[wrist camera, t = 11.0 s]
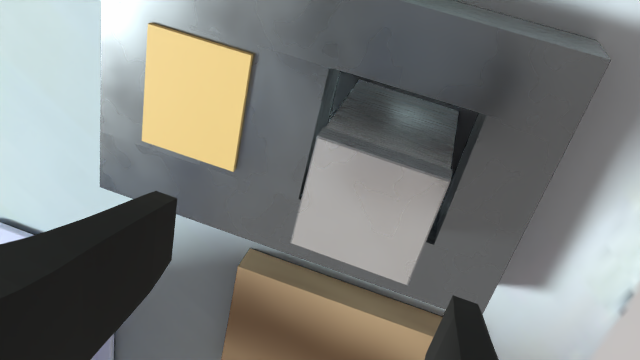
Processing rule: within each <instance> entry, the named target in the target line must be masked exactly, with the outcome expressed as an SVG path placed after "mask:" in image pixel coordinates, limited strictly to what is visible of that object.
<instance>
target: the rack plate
mask: <svg viewBox="0 0 640 360" xmlns="http://www.w3.org/2000/svg"><path fill="white" fill-rule="evenodd" d="M610 61H611V59H610V58H609V56H608V55H607V54H606V52H605V51H604V50H603V48H602V47H601V45H600V44H599V43H598V41H597V40H594V39H590V38H586V37H583V36H579V35H576V34H572V33H569V32H565V31H561V30H558V29H554V28H551V27H547V26H543V25H540V24H536V23H533V22H529V21H526V20H522V19H518V18H515V17H511V16H508V15H504V14H501V13H497V12H493V11H490V10H486V9H483V8H479V7H475V6H472V5H468V4H465V3H461V2H458V1H454V0H102V2H101V115H100V187H101V188H104V189H107V190H110V191H113V192H115V193H118V194H121V195H124V196H127V197H130V198H132V199H135V198H138V197H140V196H143V195H145V194H148V193H151V192H154V191H158V192H161V193H164V194H167V195H170V196H172V197H175V198H177V208H176V214H178V215H180V216H183V217H186V218H189V219H192V220H195V221H197V222H200V223H203V224H206V225H209V226H212V227H214V228H217V229H220V230H223V231H226V232H228V233H231V234H234V235H237V236H240V237H243V238H245V239H248V240H251V241H254V242H257V243H260V244H262V245H265V246H268V247H271V248H274V249H276V250H279V251H282V252H285V253H288V254H291V255H293V256H296V257H299V258H302V259H305V260H308V261H310V262H313V263H316V264H319V265H322V266H325V267H327V268H330V269H333V270H336V271H339V272H341V273H344V274H347V275H350V276H353V277H356V278H358V279H361V280H364V281H367V282H370V283H373V284H375V285H378V286H381V287H384V288H387V289H389V290H392V291H395V292H398V293H401V294H404V295H406V296H409V297H412V298H415V299H418V300H421V301H423V302H426V303H429V304H432V305H435V306H438V307H440V308H443V309H447V307H448V305H449V302H450V300H451V298H452V296H453V295H454V296H456V297H459V298H462V299H465V300H468V301H471V302H473V303H476V304H478V305H479V307H480V309H481V312H482V314H483V312H484V310H485V308H486V306H487V304H488V302H489V300H490V298H491V296H492V294H493V292H494V291H495V289H496V287H497V285H498V283H499V281H500V279H501V277H502V275H503V273H504V271H505V269H506V267H507V265H508V263H509V261H510V259H511V257H512V255H513V253H514V251H515V249H516V247H517V245H518V243H519V241H520V239H521V237H522V235H523V233H524V231H525V229H526V227H527V225H528V223H529V221H530V219H531V217H532V215H533V213H534V211H535V209H536V207H537V205H538V203H539V201H540V199H541V197H542V195H543V193H544V191H545V189H546V188H547V186H548V184H549V182H550V180H551V178H552V176H553V174H554V172H555V170H556V168H557V166H558V164H559V162H560V160H561V158H562V156H563V154H564V152H565V150H566V148H567V146H568V144H569V142H570V140H571V138H572V136H573V134H574V132H575V130H576V128H577V126H578V124H579V122H580V120H581V118H582V116H583V114H584V112H585V110H586V108H587V106H588V104H589V102H590V100H591V98H592V96H593V94H594V92H595V90H596V88H597V86H598V84H599V83H600V81H601V79H602V77H603V75H604V73H605V71H606V69H607V67H608V65H609V63H610ZM340 71H343V72H347V73H350V74H353V75H356V76H360V77H363V78H366V79H370V80H373V81H376V82H379V83H383V84H386V85H389V86H393V87H396V88H399V89H402V90H406V91H409V92H412V93H416V94H419V95H422V96H425V97H429V98H432V99H435V100H439V101H442V102H445V103H448V104H452V105H455V106H458V107H462V108H465V109H468V110H471V111H475V112H478V116H477V118H476V121H475V123H474V126H473V128H472V131H471V133H470V136H469V138H468V141H467V144H466V146H465V149H464V151H463V154H462V156H461V159H460V161H459V164H458V166H457V169H456V171H455V174H454V176H453V179H452V181H451V184H450V186H449V189H448V191H447V194H446V196H445V199H444V202H443V204H442V207H441V209H440V212H438V213H437V216H436V218H435V221H434V223H433V225H432V228H431V230H430V233H429V235H428V238H427V240H426V242H425V245H424V247H423V250H422V252H421V254H420V257H419V259H418V262H417V264H416V267H415V269H414V271H413V274H412V276H411V279H410V281H409V284H408V286H407V285H405V284H402V283H399V282H396V281H394V280H391V279H388V278H385V277H383V276H380V275H377V274H374V273H372V272H369V271H366V270H363V269H361V268H358V267H355V266H352V265H350V264H347V263H344V262H341V261H339V260H336V259H333V258H330V257H328V256H325V255H322V254H319V253H317V252H314V251H311V250H308V249H306V248H303V247H300V246H297V245H295V244H292V243H290V242H291V238H292V234H293V230H294V226H295V222H296V218H297V214H298V210H299V206H300V202H301V198H302V194H303V190H304V186H305V182H306V178H307V174H308V170H309V166H310V162H311V158H312V154H313V150H314V146H315V142H316V138H317V135H318V134H319V132H320V131H321V130H322V128H323V127H325V128H326V126H327V124H328V120H329V115H330V111H331V107H332V103H333V99H334V95H335V91H336V87H337V83H338V79H339V75H340Z"/></svg>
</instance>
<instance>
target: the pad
mask: <svg viewBox="0 0 640 360" xmlns="http://www.w3.org/2000/svg"><path fill="white" fill-rule="evenodd" d="M442 318H443V317H442V316H439V315H436V314H433V313H430V312H428V311H425V310H422V309H419V308H416V307H413V306H411V305H408V304H405V303H402V302H399V301H397V300H394V299H391V298H388V297H385V296H383V295H380V294H377V293H374V292H371V291H369V290H366V289H363V288H360V287H357V286H354V285H352V284H349V283H346V282H343V281H340V280H338V279H335V278H332V277H329V276H326V275H324V274H321V273H318V272H315V271H312V270H310V269H307V268H304V267H301V266H298V265H296V264H293V263H290V262H287V261H284V260H281V259H279V258H276V257H273V256H270V255H267V254H265V253H262V252H259V251H256V250H253V249H251V248H250V249H249V250H248V252H247V253H246V255H245V256H244V258H243V259H242V261H241V262H240V264H239V265H238V268H237V274H236V279H235V285H234V291H233V296H232V302H231V307H230V313H229V319H228V324H227V330H226V336H225V341H224V347H223V353H222V358H221V360H425V355H426V352H427V350H428V348H429V346H430V344H431V341H432V339H433V337H434V335H435V333H436V331H437V328H438V326H439V324H440V322H441V320H442Z"/></svg>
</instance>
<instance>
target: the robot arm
mask: <svg viewBox="0 0 640 360" xmlns="http://www.w3.org/2000/svg"><path fill="white" fill-rule="evenodd" d="M176 208H177V198H175V197H172V196H170V195H167V194H164V193H161V192H158V191H154V192H151V193H148V194H145V195H143V196H140V197H138V198H135V199H133V200H130V201H128V202H125V203H123V204H120V205H118V206H115V207H113V208H110V209H108V210H105V211H103V212H100V213H98V214H95V215H92V216H90V217H87V218H85V219H82V220H79V221H76V222H73V223H70V224H67V225H64V226H61V227H58V228H55V229H53V230H50V231H47V232H44V233H40V234H37V235H33V234H30V233H27V232H25V231H22V230H19V229H17V228H14V227H11V226H9V225H6V224H3V223H1V222H0V360H113V359H114V333H115V331H116V330H117V329H118V328H119V327H120V326H121V325H122V324H123V322H124V321H125V320H126V319H127V318H128V317H129V316H130V315H131V313H132V312H133V311H134V310H135V309H136V308H137V306H138V305H139V304H140V303H141V302H142V301H143V300H144V298H145V297H146V296H147V295H148V294H149V293H150V291H151V290H152V289H153V287H154V286H155V284H156V283H157V281H158V280H159V278H160V277H161V275H162V274H163V272H164V271H165V269H166V267H167V266H168V264H169V263H170V261H171V258H172V248H173V238H174V228H175V218H176ZM425 360H498V357H497V354H496V352H495V349H494V347H493V344H492V341H491V339H490V336H489V333H488V330H487V327H486V324H485V321H484V318H483V315H482V312H481V309H480V307H479V305H478V304H476V303H473V302H471V301H468V300H465V299H462V298H459V297H456V296H454V295H453V296H452V298H451V300H450V302H449V305H448V307H447V309H446V311H445V313H444V315H443V318H442V320H441V322H440V324H439V326H438V328H437V331H436V333H435V335H434V337H433V339H432V341H431V344H430V346H429V348H428V350H427V352H426V355H425Z"/></svg>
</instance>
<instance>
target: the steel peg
mask: <svg viewBox="0 0 640 360" xmlns="http://www.w3.org/2000/svg"><path fill="white" fill-rule="evenodd" d="M458 114H459V111H457V110H454V109H451V108H448V107H444V106H441V105H438V104H435V103H432V102H429V101H426V100H422V99H419V98H416V97H413V96H410V95H407V94H404V93H401V92H397V91H394V90H391V89H388V88H385V87H382V86H379V85H375V84H372V83H369V82H366V81H363V80H360V79H359V80H358V82H357V83H356V85H355V86H354V88H353V89H352V90H351V92H350V93H349V95H348V96H347V98H346V99H345V100H344V102H343V103H342V105H341V106H340V108H339V109H338V110H337V112H336V113H335V115H334V116H333V118H332V119H331V120H330V122H329V123H328V125H327V126H326V128H325V127H323V128H322V130H321V131H320V132H319V134H318V135H317V138H316V142H315V146H314V150H313V154H312V158H311V162H310V166H309V170H308V174H307V178H306V182H305V186H304V190H303V194H302V198H301V202H300V206H299V210H298V214H297V218H296V222H295V226H294V230H293V234H292V238H291V242H290V243H292V244H295V245H297V246H300V247H303V248H306V249H308V250H311V251H314V252H317V253H319V254H322V255H325V256H328V257H330V258H333V259H336V260H339V261H341V262H344V263H347V264H350V265H352V266H355V267H358V268H361V269H363V270H366V271H369V272H372V273H374V274H377V275H380V276H383V277H385V278H388V279H391V280H394V281H396V282H399V283H402V284H405V285H407V286H408V284H409V281H410V279H411V276H412V274H413V271H414V269H415V267H416V264H417V262H418V259H419V257H420V254H421V252H422V250H423V247H424V245H425V242H426V240H427V238H428V235H429V233H430V230H431V228H432V225H433V223H434V221H435V218H436V216H437V213H438V211H439V208H440V206H441V204H442V201H443V199H444V196H445V194H446V191H447V189H448V187H449V184H450V182H451V177H452V170H451V162H452V155H453V148H454V141H455V134H456V127H457V121H458Z"/></svg>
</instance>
